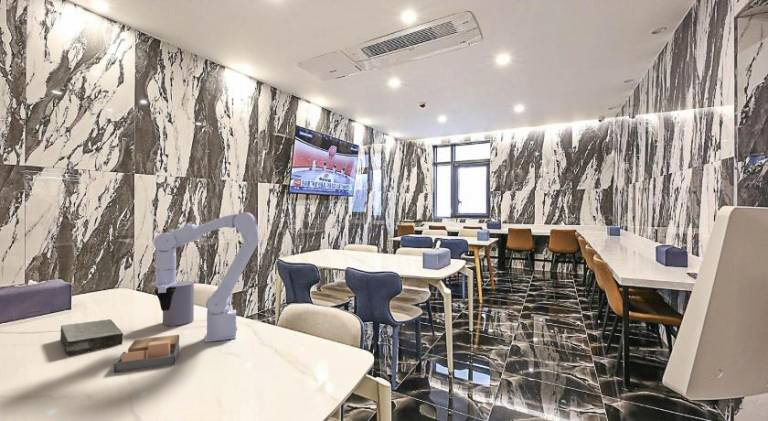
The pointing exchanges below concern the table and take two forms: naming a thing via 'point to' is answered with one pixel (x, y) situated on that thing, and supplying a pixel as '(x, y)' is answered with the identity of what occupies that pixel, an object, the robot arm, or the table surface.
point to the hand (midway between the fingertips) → (165, 310)
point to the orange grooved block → (143, 343)
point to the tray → (146, 362)
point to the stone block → (89, 336)
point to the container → (180, 305)
